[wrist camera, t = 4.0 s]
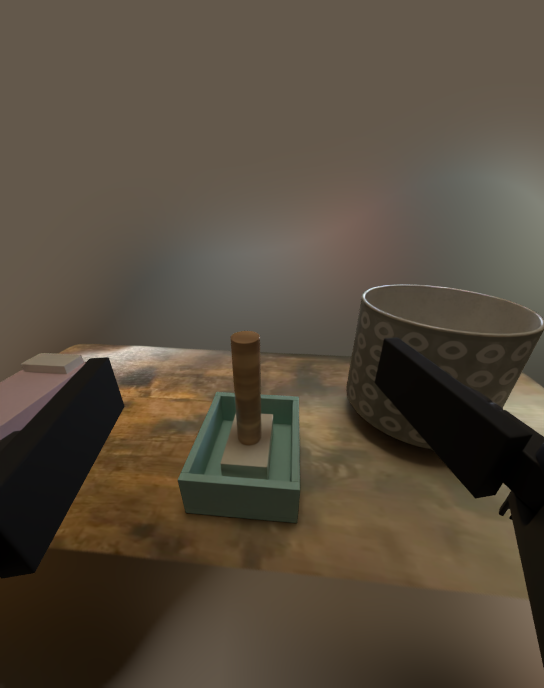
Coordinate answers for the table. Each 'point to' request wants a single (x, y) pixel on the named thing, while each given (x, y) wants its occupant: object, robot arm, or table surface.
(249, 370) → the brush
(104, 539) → the table surface
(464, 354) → the planter
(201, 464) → the green open box
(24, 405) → the bed
